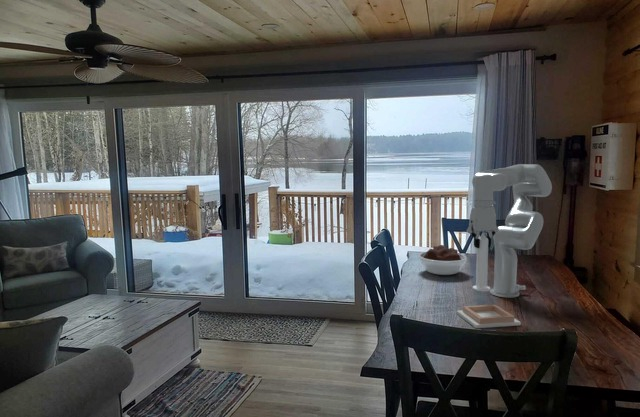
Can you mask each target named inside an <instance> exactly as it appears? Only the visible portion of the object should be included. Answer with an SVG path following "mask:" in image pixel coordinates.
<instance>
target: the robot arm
mask: <svg viewBox="0 0 640 417" xmlns="http://www.w3.org/2000/svg"><path fill="white" fill-rule="evenodd" d="M471 183H472V186H473V191H474V193H473V206H472V207H471V210H470V214H469V222H468V227H467V229H466V233H468V234H469V235H470V236H471V237H472V238H473V246H474V248H476V249H477V248H479V247H480V239H478V238H479V237H480V233H482V232H485V234H486V236H485V237H486V238H487V239H488V249H489V248H491V245H492V238H493V243H494V267H493V268H494V269H493V270H494V272H493V287H492V288H490V291H489V293H490V294H491V295H492V296H496V297H498V298H499V297H500V298H505V299H507V298H509V299H514V298H517V297H519V296H520V291H523V290H525V291H526V290H527V286H526V285H520V284H517V270H518V255H517V253H516V250H515V249H518V250H525V251H526V250H527V251H528V250H530V249H532V248H533V247H534V245H535V244H536V242H537V240H538V238H539V235H540V234H541V231H542V229H543V226H544V217H543V215H542V214H541V213H540V212H537V211H533V208H534V206H533V204H532V202H531V201H530V200H529V198H528V197H540V198H546V197H548V196H550V194H552V190H553V186H552V184H553V183H552V182H551V180H550V177H549V176H548V174H547V171H546V170H545V169H544V168H543V166H541V165H540V164H536V163H535V164H532V163H529V164H525V163H524V164H523V163H519V164H513V165H511V166H507V167H501V168H495V169H488V170H482V171H479V172H477V173H475V174H474V175H473V177H472V181H471ZM507 187H512V193H513V194H512V195H513V205H512V207H511V209H510V210H509V212H508V214H507V215H506V218H505V221H504V224H505V225H500V226H498V225H497V216H496V208H495V207H494V205H496V203H497V202H496V200H494V192H500V191H504V190H505V189H506V188H507Z"/></svg>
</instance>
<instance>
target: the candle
mask: <svg viewBox="0 0 640 417" xmlns="http://www.w3.org/2000/svg"><path fill="white" fill-rule="evenodd" d="M486 237H487V236H485V231H483V232H481V235H479V238H478V239H480V247H479V248H476V267H475V269H476V272H475V274H476V275H475V285H472V290H474V291H478V292H490V289H491V287H490V286H488V272H489V270H488V269H489V265H488V264H489V248H488V239H487V238H486Z"/></svg>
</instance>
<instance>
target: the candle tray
mask: <svg viewBox="0 0 640 417" xmlns="http://www.w3.org/2000/svg"><path fill="white" fill-rule="evenodd" d="M456 314H457V315H458V316H459V317H461V318H462V319H463V320H464V321H466V322H467V323H468V324H469V325H470V326H472V327H474V328H475V329H482V328H483V329H484V328H498V327H499V328H501V327H513V326H521V323H522V322H521V321H519V320H518V319H517V318H516V317H515V315H513V314H511V312H508V311H506V309H505V310H504V308H502V307H500V306H498V305H497V304H483V305H481V304H479V305H478V304H477V305H465V306H462V309H461V310H460V309H459V310H456Z"/></svg>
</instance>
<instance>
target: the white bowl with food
mask: <svg viewBox="0 0 640 417" xmlns="http://www.w3.org/2000/svg"><path fill="white" fill-rule="evenodd" d="M418 260H419V261H420V263H421V264H422V265H423V268H424V270H425V271H426V272H428V273H430V274H434V275H440V276H451V275H455V274H458V273H459V272H460V271H461V268H462V267H463V266H464V265H465V264H466V262H467V260H468V259H467V256H466V255H464V254H462V253H458V250H457V249H455V248H453V247H449V248H448V247H447V246H445V245H443V244H440V245H438V246H435V245H434V246H433V248H429V249H428V250H427V251H424V252H421V253H419V255H418Z"/></svg>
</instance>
